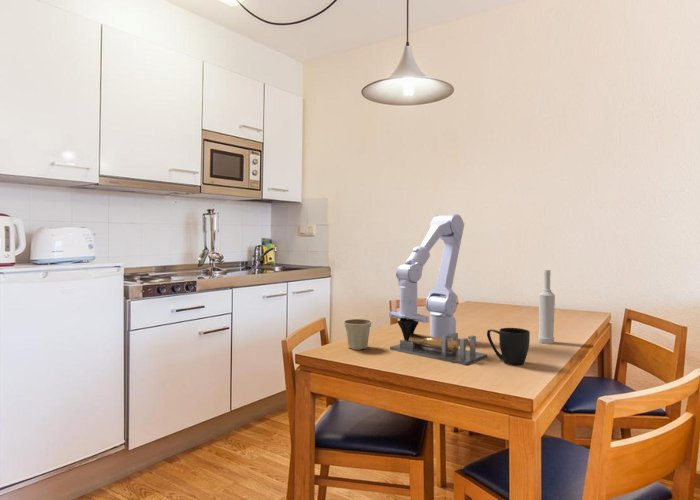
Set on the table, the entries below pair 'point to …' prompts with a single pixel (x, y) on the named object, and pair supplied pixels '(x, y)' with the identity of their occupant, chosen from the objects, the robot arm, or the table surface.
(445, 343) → the collar
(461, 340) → the collar
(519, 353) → the mug
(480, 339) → the table surface
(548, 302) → the bottle
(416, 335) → the copper tube
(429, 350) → the firebox plate
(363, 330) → the flower pot
